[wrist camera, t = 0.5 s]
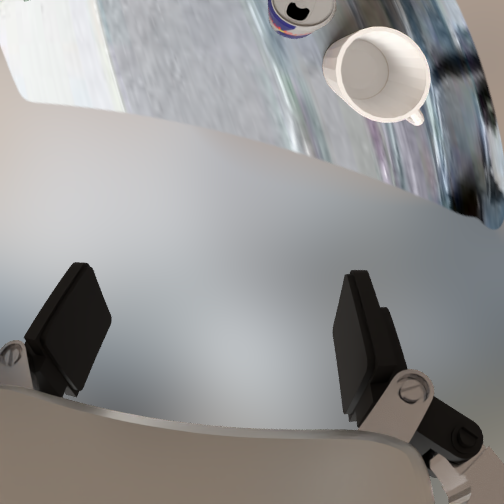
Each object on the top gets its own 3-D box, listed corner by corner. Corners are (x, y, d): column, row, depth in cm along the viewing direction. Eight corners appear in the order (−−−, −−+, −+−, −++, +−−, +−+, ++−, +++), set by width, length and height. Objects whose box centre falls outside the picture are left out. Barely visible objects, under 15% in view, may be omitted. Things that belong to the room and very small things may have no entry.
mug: (301, 66, 31) (313, 69, 23) (354, 18, 27) (384, 7, 19) (366, 131, 35) (395, 158, 27) (415, 87, 31) (458, 101, 22)
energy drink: (261, 28, 29) (256, 14, 19) (279, -10, 26) (284, -39, 16) (305, 46, 30) (322, 41, 20) (324, 8, 27) (348, -11, 17)
